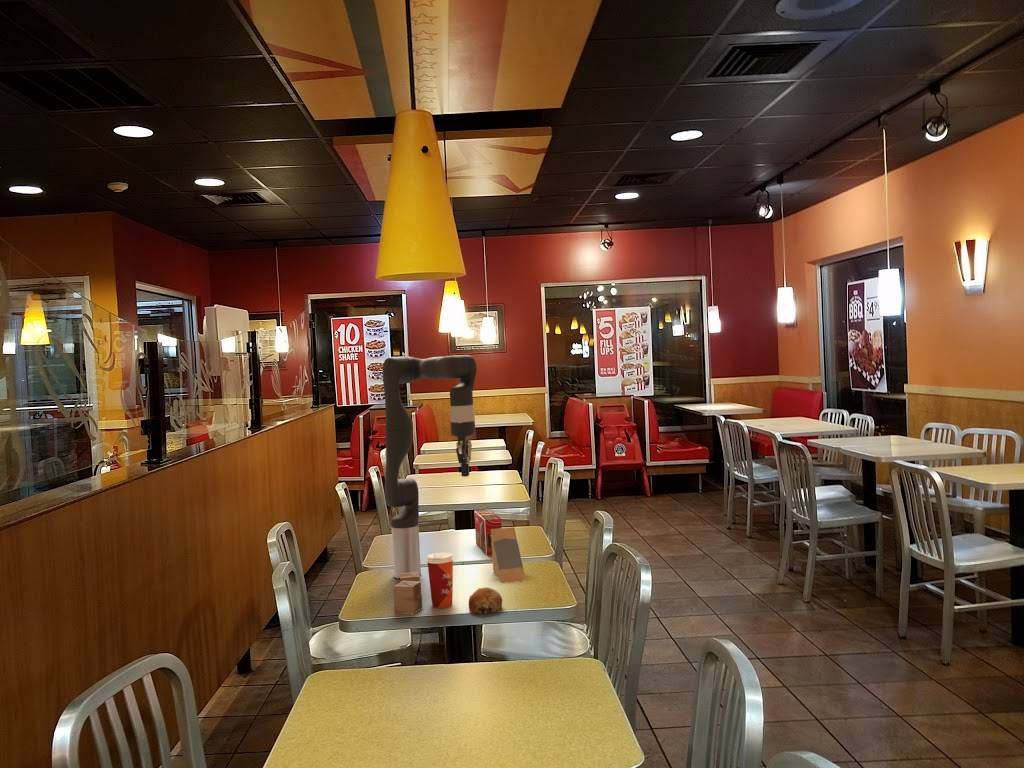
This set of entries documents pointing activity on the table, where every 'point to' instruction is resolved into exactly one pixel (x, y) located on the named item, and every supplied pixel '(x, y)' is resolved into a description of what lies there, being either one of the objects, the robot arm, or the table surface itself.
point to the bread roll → (485, 601)
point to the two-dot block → (410, 576)
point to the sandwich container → (506, 555)
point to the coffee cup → (441, 579)
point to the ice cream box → (485, 529)
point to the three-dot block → (407, 597)
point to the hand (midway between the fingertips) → (465, 476)
